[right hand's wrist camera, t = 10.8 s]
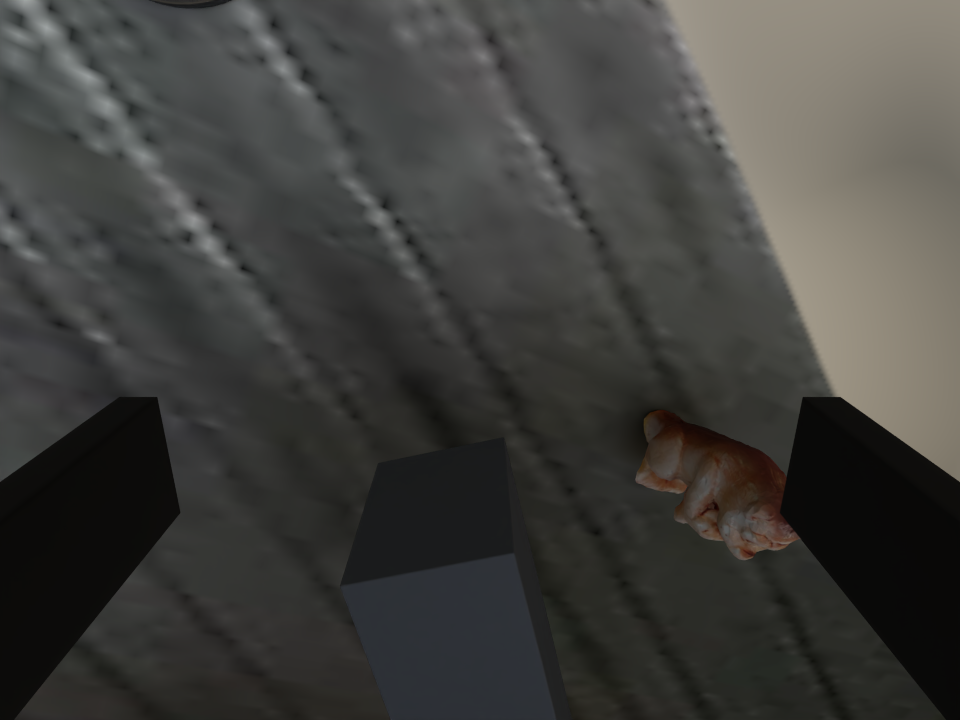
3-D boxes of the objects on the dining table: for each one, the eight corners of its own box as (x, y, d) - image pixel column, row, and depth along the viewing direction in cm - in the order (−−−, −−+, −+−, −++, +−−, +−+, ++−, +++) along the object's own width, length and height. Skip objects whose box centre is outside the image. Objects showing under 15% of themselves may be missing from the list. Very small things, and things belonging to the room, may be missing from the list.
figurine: (616, 458, 47) (675, 594, 33) (656, 373, 45) (737, 480, 31) (688, 480, 48) (775, 621, 34) (731, 396, 45) (844, 512, 31)
